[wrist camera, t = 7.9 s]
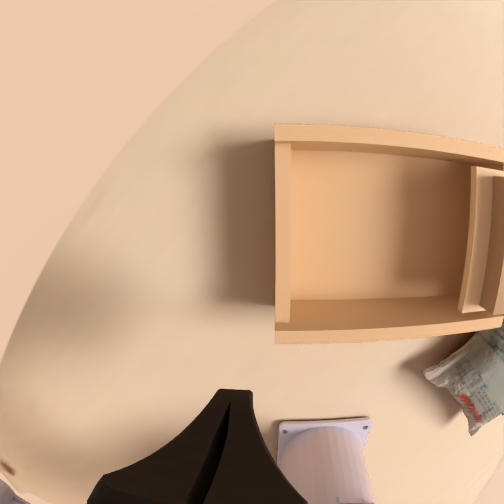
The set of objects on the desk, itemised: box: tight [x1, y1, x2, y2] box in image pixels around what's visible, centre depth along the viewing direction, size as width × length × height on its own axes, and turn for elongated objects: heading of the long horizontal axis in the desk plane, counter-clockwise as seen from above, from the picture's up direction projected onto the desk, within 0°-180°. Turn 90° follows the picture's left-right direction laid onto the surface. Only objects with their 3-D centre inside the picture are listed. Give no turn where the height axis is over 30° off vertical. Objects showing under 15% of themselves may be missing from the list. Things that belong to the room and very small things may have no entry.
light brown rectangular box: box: [274, 124, 504, 344], centre depth 17 cm, size 11×15×5 cm
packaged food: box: [423, 314, 504, 436], centre depth 19 cm, size 9×12×5 cm
